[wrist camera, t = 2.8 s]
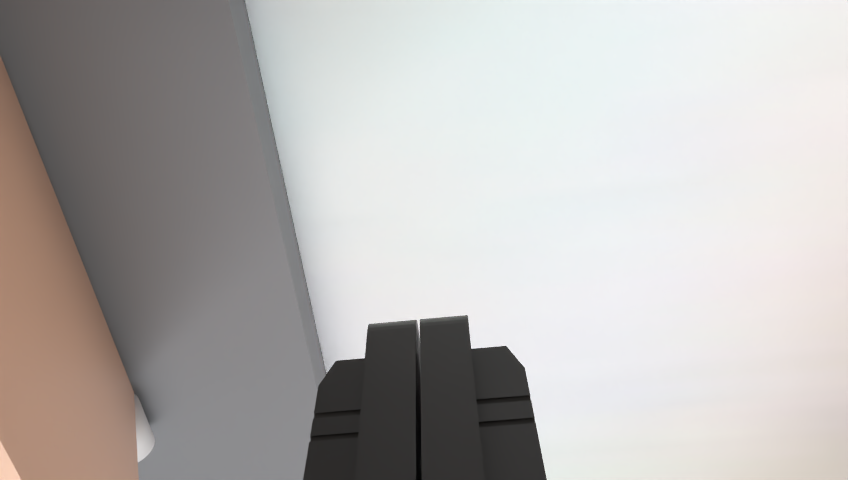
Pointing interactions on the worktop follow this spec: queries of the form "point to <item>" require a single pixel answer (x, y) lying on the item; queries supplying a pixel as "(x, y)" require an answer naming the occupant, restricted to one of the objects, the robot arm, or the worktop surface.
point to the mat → (177, 223)
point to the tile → (52, 333)
